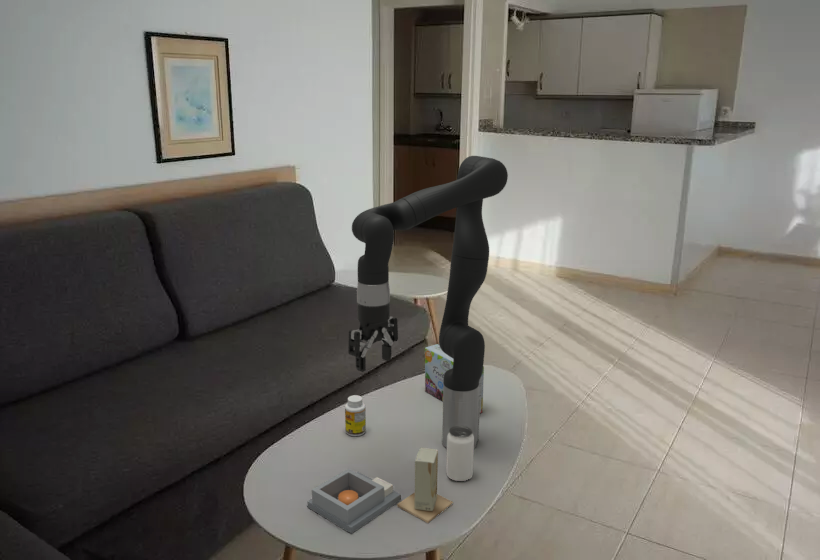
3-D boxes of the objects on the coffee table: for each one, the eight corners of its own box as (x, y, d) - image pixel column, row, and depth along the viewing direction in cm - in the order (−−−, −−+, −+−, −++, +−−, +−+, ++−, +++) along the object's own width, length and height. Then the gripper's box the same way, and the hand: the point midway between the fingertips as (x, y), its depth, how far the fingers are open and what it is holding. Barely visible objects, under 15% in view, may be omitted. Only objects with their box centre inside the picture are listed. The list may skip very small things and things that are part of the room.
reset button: (348, 498, 153) (348, 487, 152) (362, 505, 150) (362, 495, 150) (334, 507, 150) (334, 496, 149) (348, 515, 147) (348, 504, 146)
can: (455, 485, 159) (456, 440, 155) (441, 471, 164) (442, 428, 161) (477, 478, 162) (479, 434, 158) (463, 465, 167) (465, 422, 164)
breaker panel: (358, 477, 162) (357, 458, 160) (401, 499, 153) (401, 480, 152) (307, 507, 150) (306, 487, 149) (351, 533, 142) (350, 513, 140)
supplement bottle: (342, 429, 184) (342, 395, 181) (361, 425, 186) (361, 392, 183) (349, 438, 179) (348, 404, 176) (368, 434, 181) (368, 400, 179)
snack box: (423, 392, 207) (423, 347, 203) (437, 387, 210) (437, 342, 206) (469, 418, 191) (471, 370, 187) (483, 412, 194) (485, 365, 190)
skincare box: (433, 512, 148) (433, 463, 144) (413, 509, 149) (414, 461, 145) (437, 495, 154) (438, 448, 150) (419, 493, 155) (419, 446, 151)
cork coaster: (422, 489, 157) (422, 486, 157) (453, 504, 152) (453, 502, 151) (397, 506, 151) (397, 504, 151) (427, 523, 145) (427, 520, 145)
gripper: (363, 310, 145) (364, 379, 149) (406, 296, 155) (406, 360, 160) (339, 303, 150) (341, 370, 154) (382, 289, 160) (383, 352, 165)
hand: (374, 365), depth 157 cm, fingers open, 8 cm apart
